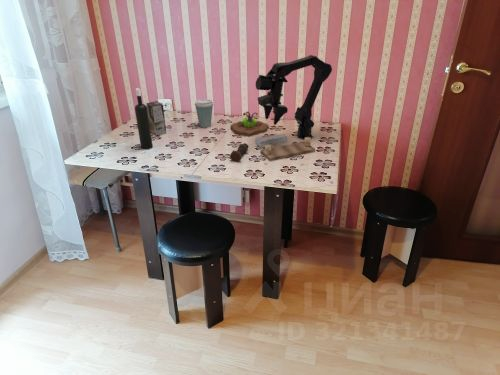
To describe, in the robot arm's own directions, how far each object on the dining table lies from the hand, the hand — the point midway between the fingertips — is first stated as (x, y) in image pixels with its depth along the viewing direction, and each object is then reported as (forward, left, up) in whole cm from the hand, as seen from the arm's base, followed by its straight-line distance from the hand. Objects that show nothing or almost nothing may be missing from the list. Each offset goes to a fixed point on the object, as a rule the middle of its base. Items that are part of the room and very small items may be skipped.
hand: (270, 121), depth 188 cm
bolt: (+20, +8, -12) cm, 24 cm away
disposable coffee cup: (+22, -39, -12) cm, 46 cm away
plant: (+2, -23, -12) cm, 26 cm away
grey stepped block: (-1, 0, -12) cm, 12 cm away
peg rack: (-2, +14, -11) cm, 19 cm away
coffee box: (+49, -41, -12) cm, 65 cm away
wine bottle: (+59, -22, -12) cm, 64 cm away
